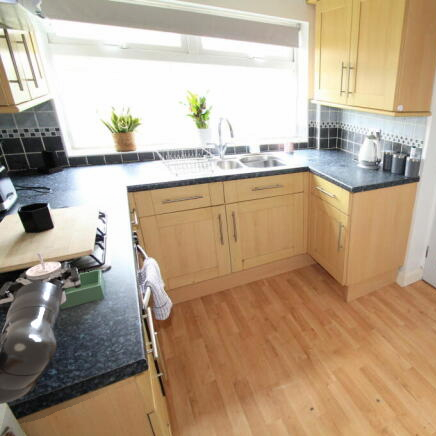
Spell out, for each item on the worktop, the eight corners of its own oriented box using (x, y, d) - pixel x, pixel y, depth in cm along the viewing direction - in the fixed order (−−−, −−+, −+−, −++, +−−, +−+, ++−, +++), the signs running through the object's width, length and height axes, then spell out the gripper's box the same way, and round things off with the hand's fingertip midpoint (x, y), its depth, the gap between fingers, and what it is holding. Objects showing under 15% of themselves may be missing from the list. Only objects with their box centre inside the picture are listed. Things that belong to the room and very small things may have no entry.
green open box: (61, 309, 89) (56, 296, 88) (64, 290, 97) (59, 278, 95) (104, 297, 95) (100, 285, 93) (104, 280, 102) (100, 268, 100)
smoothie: (46, 314, 74) (25, 262, 68) (34, 305, 76) (13, 254, 71) (78, 299, 79) (60, 249, 73) (65, 291, 82) (47, 243, 76)
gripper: (74, 282, 66) (79, 248, 78) (-23, 305, 58) (0, 264, 71) (84, 311, 69) (88, 274, 81) (-7, 337, 61) (12, 291, 74)
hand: (47, 269), depth 76 cm, fingers closed on smoothie, 6 cm apart
